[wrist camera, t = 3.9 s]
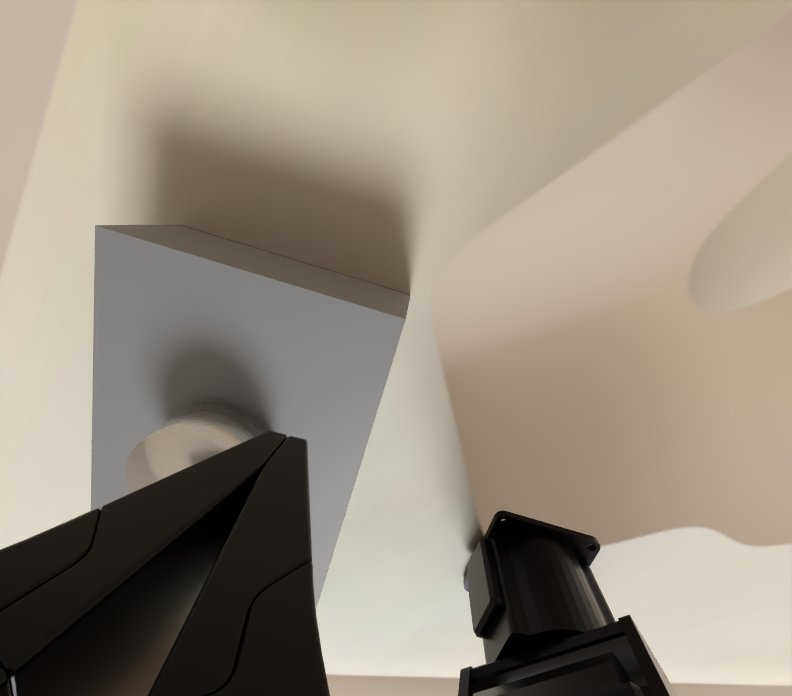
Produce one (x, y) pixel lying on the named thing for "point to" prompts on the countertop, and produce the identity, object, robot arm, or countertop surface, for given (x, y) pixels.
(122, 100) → the countertop surface
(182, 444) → the knob
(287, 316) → the panel
